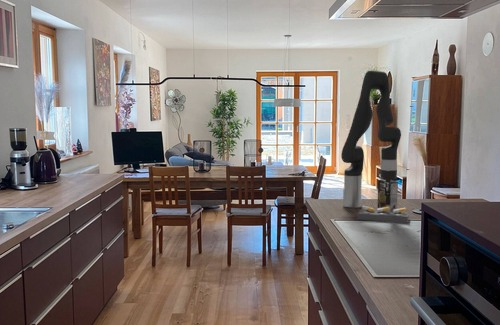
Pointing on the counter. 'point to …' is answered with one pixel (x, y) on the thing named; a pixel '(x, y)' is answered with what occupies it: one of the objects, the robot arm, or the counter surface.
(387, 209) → the middle rocker
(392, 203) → the coffee box
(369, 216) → the power strip
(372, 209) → the left rocker
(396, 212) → the right rocker
